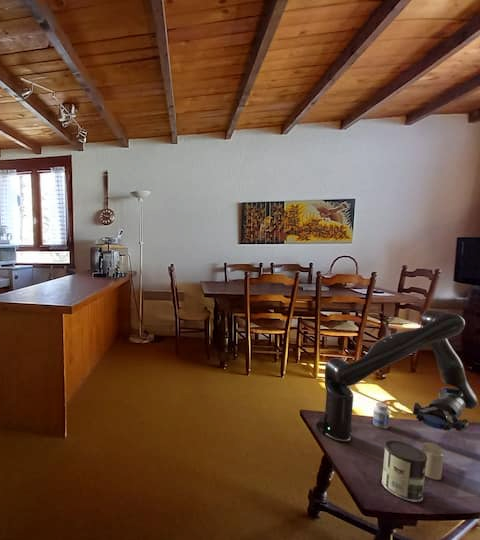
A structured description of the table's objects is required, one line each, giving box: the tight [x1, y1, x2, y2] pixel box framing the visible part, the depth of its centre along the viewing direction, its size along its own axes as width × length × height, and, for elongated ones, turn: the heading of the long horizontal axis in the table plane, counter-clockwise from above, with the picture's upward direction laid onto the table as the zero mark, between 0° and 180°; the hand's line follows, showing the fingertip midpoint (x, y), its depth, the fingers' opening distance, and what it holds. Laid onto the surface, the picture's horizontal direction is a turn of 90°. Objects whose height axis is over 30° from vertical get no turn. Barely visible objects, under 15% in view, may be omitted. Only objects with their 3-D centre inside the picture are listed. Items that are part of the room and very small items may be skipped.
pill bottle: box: [372, 402, 390, 429], centre depth 137 cm, size 6×5×10 cm
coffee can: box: [381, 439, 427, 503], centre depth 101 cm, size 10×10×14 cm
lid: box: [421, 415, 445, 430], centre depth 106 cm, size 6×6×2 cm
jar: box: [421, 442, 445, 481], centre depth 108 cm, size 5×5×11 cm
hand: (431, 422), depth 105 cm, fingers closed on lid, 5 cm apart
